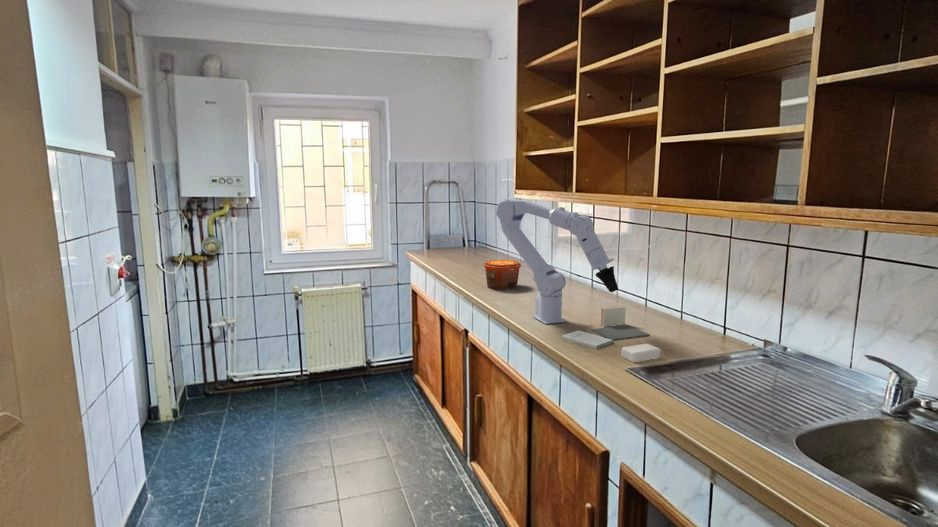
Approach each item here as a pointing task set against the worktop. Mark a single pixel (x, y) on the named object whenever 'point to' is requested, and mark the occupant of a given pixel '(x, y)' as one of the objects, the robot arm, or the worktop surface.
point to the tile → (613, 316)
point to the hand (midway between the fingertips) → (614, 290)
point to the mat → (620, 332)
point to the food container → (502, 274)
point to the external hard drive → (587, 339)
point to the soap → (640, 352)
